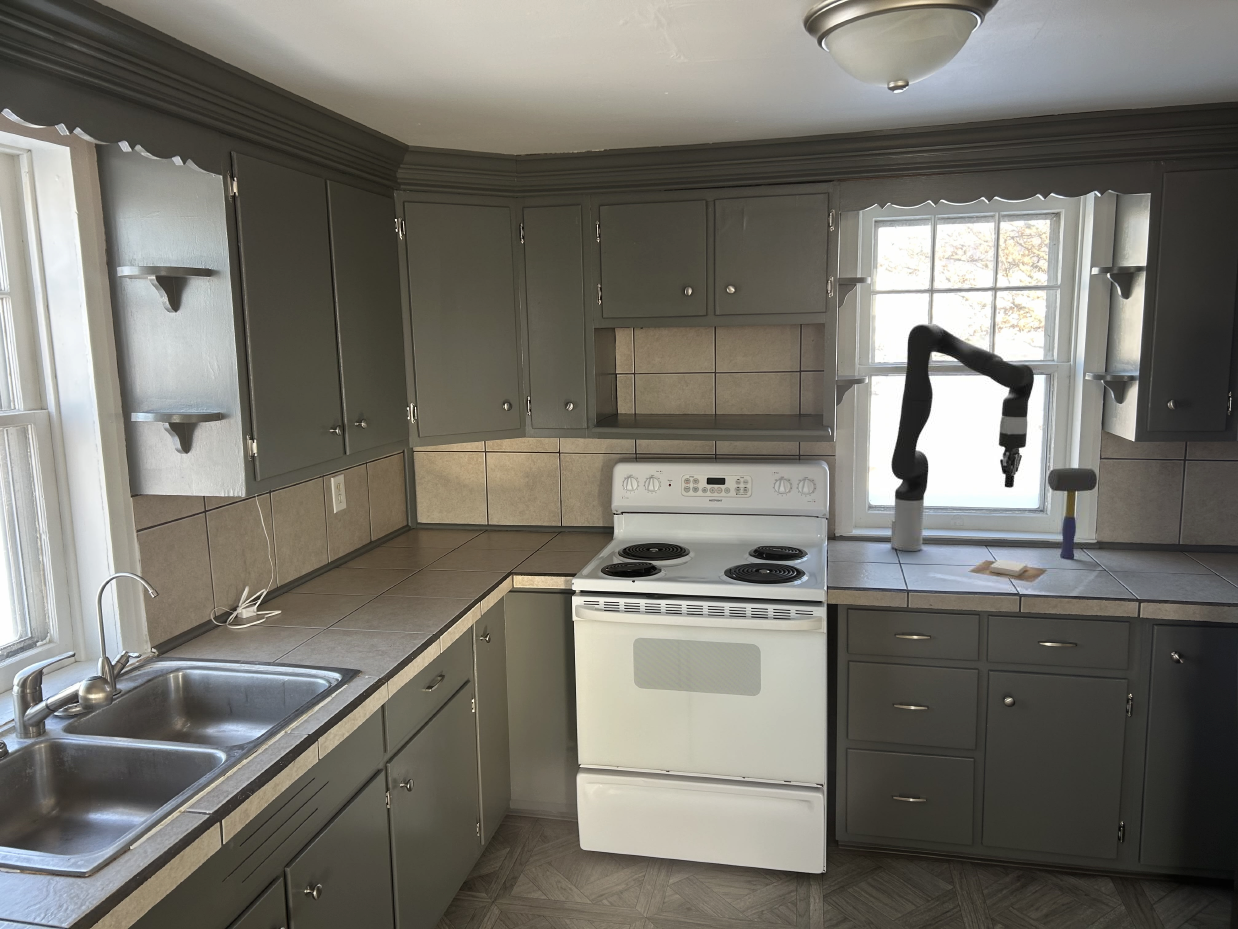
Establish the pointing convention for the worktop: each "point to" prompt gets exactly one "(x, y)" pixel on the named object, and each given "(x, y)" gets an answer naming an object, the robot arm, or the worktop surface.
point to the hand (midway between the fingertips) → (1008, 487)
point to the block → (1008, 567)
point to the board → (1027, 575)
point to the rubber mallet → (1071, 500)
